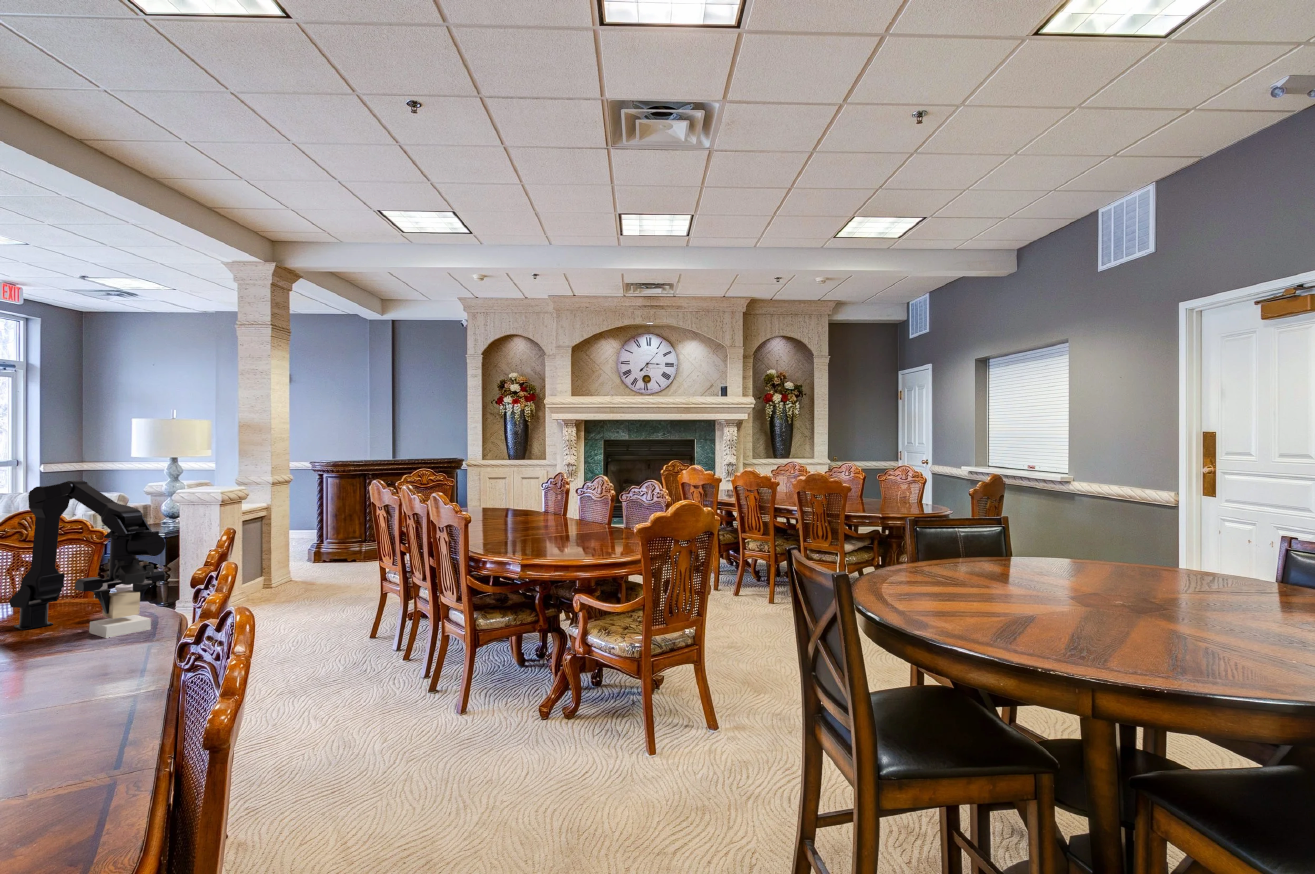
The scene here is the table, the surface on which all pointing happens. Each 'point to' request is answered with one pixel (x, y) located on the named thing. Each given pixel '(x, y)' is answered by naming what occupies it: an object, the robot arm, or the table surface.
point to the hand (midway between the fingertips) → (120, 611)
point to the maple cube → (123, 604)
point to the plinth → (120, 626)
